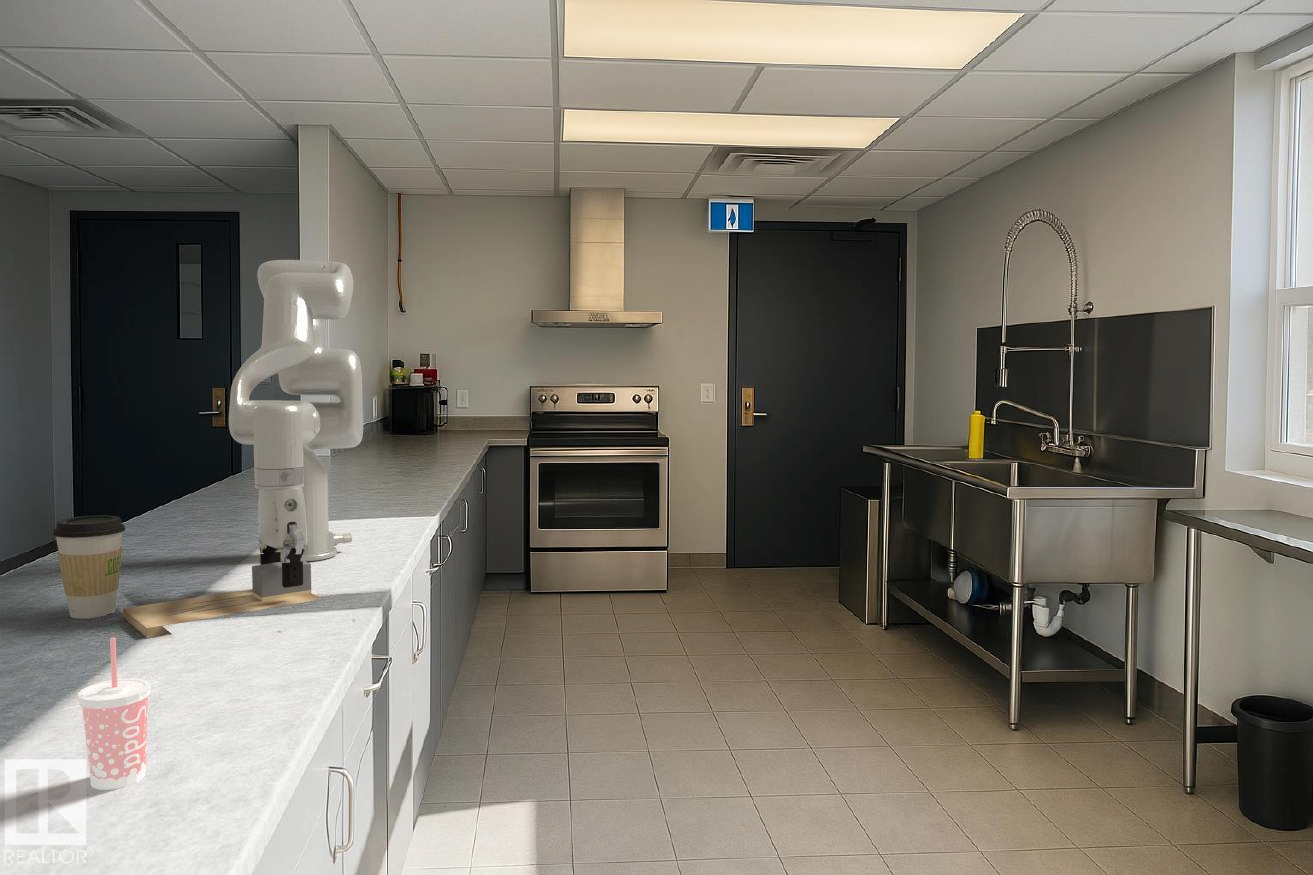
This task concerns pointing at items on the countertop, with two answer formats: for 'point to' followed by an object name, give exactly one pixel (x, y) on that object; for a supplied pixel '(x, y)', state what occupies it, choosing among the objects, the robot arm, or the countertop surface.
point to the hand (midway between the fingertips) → (281, 581)
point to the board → (201, 609)
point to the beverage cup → (115, 728)
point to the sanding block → (277, 582)
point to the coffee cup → (90, 563)
